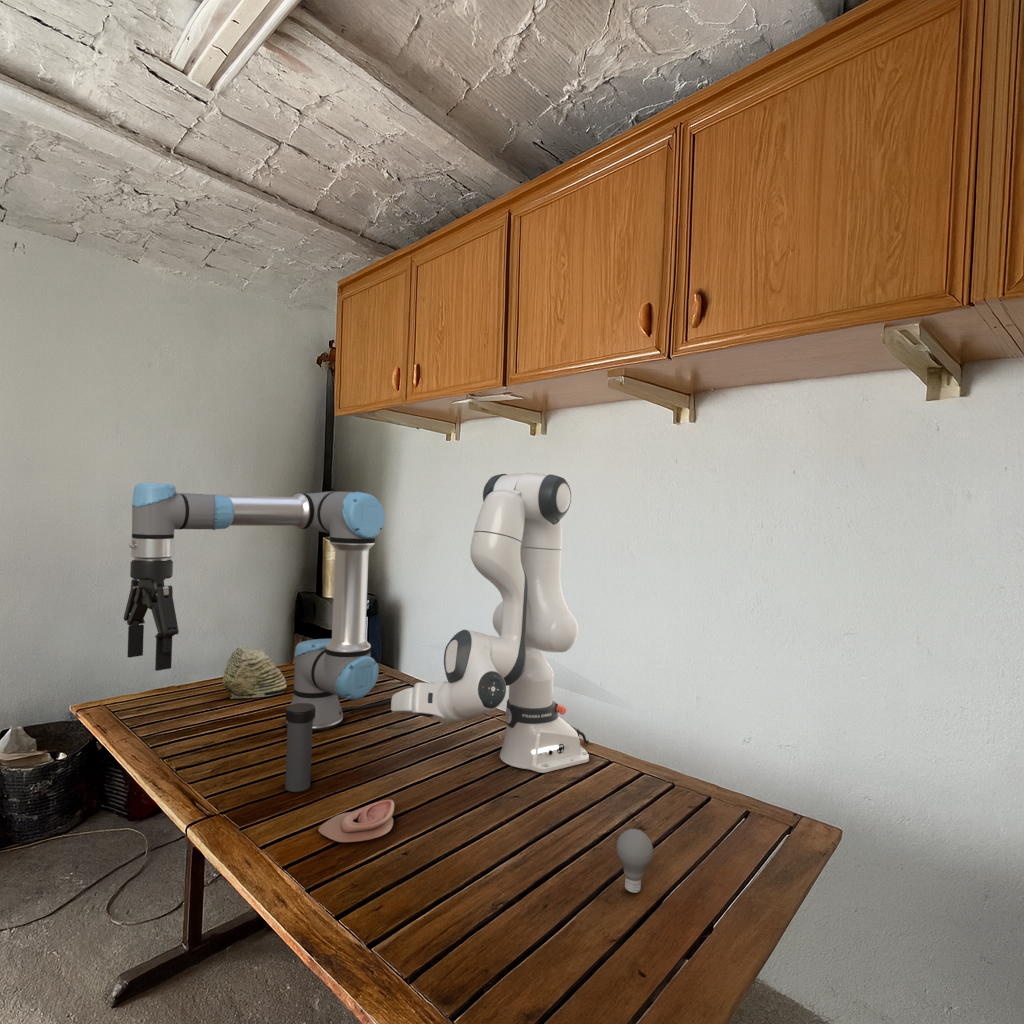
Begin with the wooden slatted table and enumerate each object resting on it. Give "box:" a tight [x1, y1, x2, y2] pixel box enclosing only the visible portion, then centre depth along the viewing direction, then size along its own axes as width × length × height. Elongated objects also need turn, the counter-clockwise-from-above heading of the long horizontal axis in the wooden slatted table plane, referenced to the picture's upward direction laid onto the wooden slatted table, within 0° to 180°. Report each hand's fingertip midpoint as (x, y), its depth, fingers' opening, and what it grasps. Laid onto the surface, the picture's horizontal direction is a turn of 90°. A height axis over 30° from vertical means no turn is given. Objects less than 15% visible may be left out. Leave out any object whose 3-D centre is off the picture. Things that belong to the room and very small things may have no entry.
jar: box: [284, 720, 313, 793], centre depth 138 cm, size 5×5×17 cm
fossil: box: [222, 646, 288, 699], centre depth 198 cm, size 9×18×15 cm, turn 132°
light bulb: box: [615, 828, 654, 894], centre depth 106 cm, size 6×6×10 cm
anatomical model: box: [317, 799, 395, 843], centre depth 122 cm, size 13×4×12 cm
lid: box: [285, 703, 315, 723], centre depth 138 cm, size 6×6×2 cm
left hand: (148, 662), depth 129 cm, fingers open, 13 cm apart
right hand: (418, 712), depth 148 cm, fingers open, 8 cm apart
